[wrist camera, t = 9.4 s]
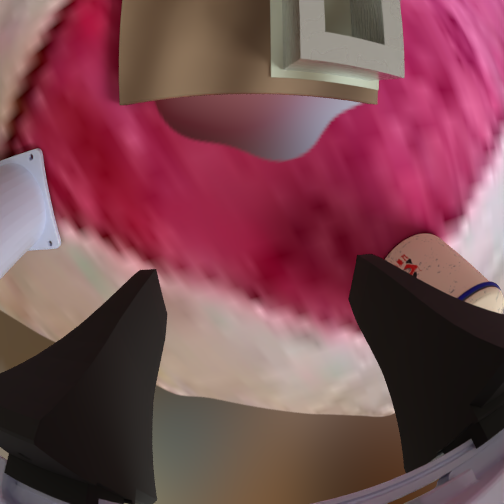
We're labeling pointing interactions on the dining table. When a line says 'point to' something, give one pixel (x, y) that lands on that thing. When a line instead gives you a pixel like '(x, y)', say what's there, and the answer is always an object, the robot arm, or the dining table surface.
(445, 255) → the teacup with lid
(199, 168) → the dining table surface
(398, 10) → the c link
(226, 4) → the board
